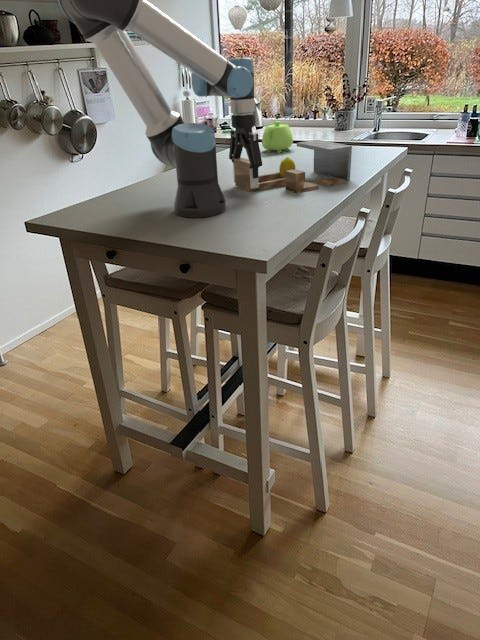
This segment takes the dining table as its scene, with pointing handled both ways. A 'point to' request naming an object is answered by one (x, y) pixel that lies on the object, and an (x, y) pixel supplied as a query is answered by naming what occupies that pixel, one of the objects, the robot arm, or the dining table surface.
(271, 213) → the dining table surface
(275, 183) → the wooden frame
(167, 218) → the dining table surface
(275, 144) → the green round lobed piece
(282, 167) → the lemon
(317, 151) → the shelf
